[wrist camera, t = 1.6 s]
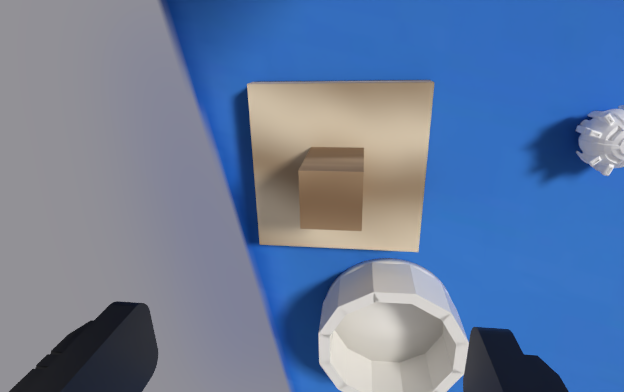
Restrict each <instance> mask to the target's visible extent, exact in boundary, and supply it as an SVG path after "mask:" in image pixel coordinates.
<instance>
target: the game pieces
mask: <svg viewBox="0 0 624 392" xmlns="http://www.w3.org/2000/svg"><path fill="white" fill-rule="evenodd" d="M618 108H620V109H611V110H607V111H603V112H602V111H592V112H591V113H589V114H588V117H593V119H591V120H590V121H589V120H586V119H585V120H583V121H582V122H581V124H580V125H582V126H580V125H578V126H577V128H576V131H577V132H579V133H581V136H579V147H580V149H581V150H582V151H583V153H580V152H579V151H577V152H576V153H577V155H578V156H579V157H580V159H581V160H583V161H584V162H585V163H588V164H589V165H590V166H592V167H593V168H594V169H596V170H597V171H600V172H601V174H603V175H606V176H609V175H610V173H611V171H612V169H613V168H621V167H624V110H622V109H624V105H621V106H619V107H618Z"/></svg>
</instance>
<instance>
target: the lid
mask: <svg viewBox="0 0 624 392" xmlns="http://www.w3.org/2000/svg"><path fill="white" fill-rule="evenodd" d="M247 90H248V103H249V115H250V128H251V141H252V154H253V166H254V179H255V192H256V204H257V217H258V230H259V243H260V245H281V246H302V247H323V248H344V249H365V250H387V251H408V252H418V250H419V239H420V229H421V218H422V207H423V197H424V186H425V176H426V165H427V154H428V144H429V133H430V122H431V112H432V101H433V91H434V82H433V81H328V82H252V83H249V84H247Z"/></svg>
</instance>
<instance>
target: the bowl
mask: <svg viewBox="0 0 624 392" xmlns="http://www.w3.org/2000/svg"><path fill="white" fill-rule="evenodd" d="M318 335H319V364H320V365H321V367H322V368H323V369H324V371H325V372H326V373H327V375H328V376H329V378H330V379H331V380H332V382H333V383H334V384H335V386H336V387H337V388H338V389H339V390H341V391H343V392H447V391H448V390H449V389H450V388H451V387H452V386H453V385H454V384H455V383H456V382H457V381H458V380H459V379H460V378H461V377H462V376H463V375H464V371H465V365H466V358H467V352H468V346H469V342H468V339H467V337H466V334H465V331H464V328H463V326H462V323H461V320H460V318H459V315H458V312H457V309H456V307H455V306H454V304H453V302H452V300H451V298H450V296H449V294H448V292H447V289H446V288H445V286H444V285H443V284H442V282H441V281H440V280H439V279H438V278H437V277H436V276H435V275H434V274H432V273H431V272H430V271H428V270H427V269H425V268H424V267H421V266H419V265H417V264H415V263H412V262H409V261H405V260H401V259H393V258H380V259H372V260H368V261H364V262H361V263H359V264H356V265H354V266H352V267H350V268H349V269H347V270H346V271H344V272H343V273H342V274H341V275H340V276H338V277H337V278H336V280H335V281H334V282H333V283H332V285H331V287H330V288H329V290H328V293H327V295H326V299H325V300H324V301H323V307H322V313H321V320H320V327H319V334H318Z"/></svg>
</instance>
